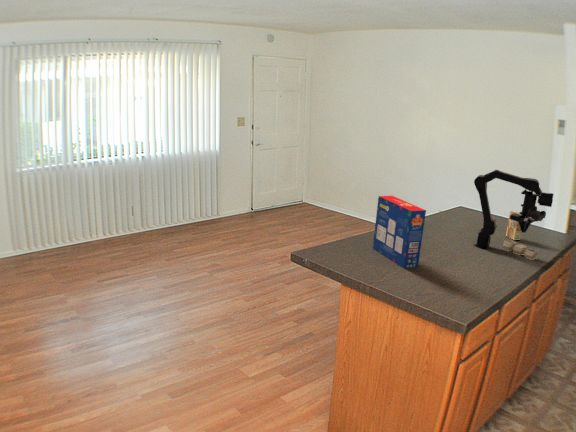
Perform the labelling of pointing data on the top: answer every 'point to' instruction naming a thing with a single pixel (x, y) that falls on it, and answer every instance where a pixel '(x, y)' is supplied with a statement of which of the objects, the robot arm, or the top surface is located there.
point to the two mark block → (509, 245)
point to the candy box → (513, 228)
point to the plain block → (519, 249)
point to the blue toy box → (399, 231)
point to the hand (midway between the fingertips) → (523, 232)
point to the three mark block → (531, 253)
